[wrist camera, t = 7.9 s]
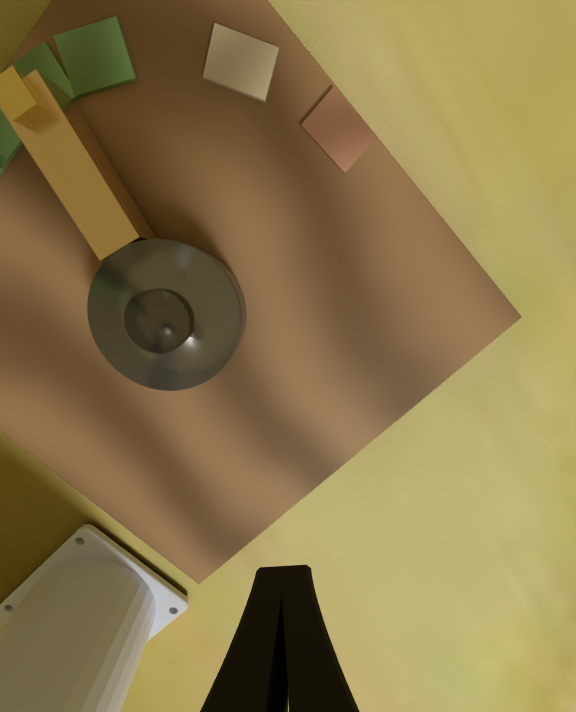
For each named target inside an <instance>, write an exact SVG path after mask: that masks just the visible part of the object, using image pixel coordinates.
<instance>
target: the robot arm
mask: <svg viewBox="0 0 576 712" xmlns="http://www.w3.org/2000/svg"><path fill="white" fill-rule="evenodd" d="M81 538H83V539H81ZM188 603H189V600H188V598H187V597H186V596H185V595H184V594H183V593H181V592H180V591H179V590H177V589H176V588H175V587H173V586H172V585H171V584H170V583H168V582H167V581H166V580H164V579H163V578H162V577H160V576H159V575H158V574H156V573H155V572H154V571H152V570H151V569H150V568H148V567H147V566H146V565H144V564H143V563H142V562H140V561H139V560H138V559H137V558H135V557H134V556H133V555H131V554H130V553H129V552H127V551H126V550H125V549H123V548H122V547H121V546H119V545H118V544H117V543H115V542H114V541H113V540H111V539H110V538H109V537H108V536H106V535H105V534H104V533H102V532H101V531H100V530H98V529H97V528H96V527H94V526H93V525H90V524H84V525H83V526H81V527H80V528H79V529H78V530H77V531H76V532H75V533H74V534H73V535H72V536H71V537H70V538H69V539H68V540H67V541H66V542H64V543H63V544H62V545H61V546H60V547H59V548H58V549H57V550H56V551H55V552H54V553H53V554H52V555H51V556H50V557H49V558H48V559H47V560H46V561H45V562H44V563H43V564H42V565H41V566H39V567H38V568H37V569H36V570H35V571H34V572H33V573H32V574H31V575H30V576H29V577H28V578H27V579H26V580H25V581H24V582H23V583H22V584H21V585H20V586H19V587H18V588H17V589H16V590H15V591H13V592H12V593H11V594H10V595H9V596H8V597H7V598H6V599H5V600H4V601H3V602H2V603H1V604H0V625H2V626H1V627H0V712H120V711H121V708H122V706H123V703H124V700H125V698H126V695H127V692H128V690H129V687H130V685H131V682H132V679H133V677H134V674H135V671H136V669H137V666H138V664H139V661H140V658H141V656H142V653H143V651H144V648H145V645H146V643H147V641H148V640H149V639H151V638H152V637H153V636H154V635H156V634H157V633H158V632H159V631H160V630H162V629H163V628H164V627H165V626H167V625H168V624H169V623H170V622H171V621H173V620H174V619H175V618H176V617H178V616H179V615H180V614H181V613H182V612H184V611H185V610H186V609H187V606H188ZM174 607H175V608H174ZM288 700H289V712H359V710H358V707H357V705H356V703H355V700H354V698H353V696H352V693H351V691H350V689H349V686H348V684H347V682H346V679H345V677H344V674H343V672H342V669H341V667H340V664H339V662H338V659H337V656H336V654H335V651H334V648H333V646H332V643H331V640H330V638H329V635H328V632H327V629H326V626H325V623H324V620H323V617H322V614H321V611H320V607H319V604H318V600H317V597H316V593H315V589H314V584H313V579H312V573H311V568H310V567H309V566H307V565H295V566H277V567H260V568H259V569H258V570H257V571H256V575H255V579H254V583H253V586H252V589H251V592H250V595H249V598H248V601H247V604H246V607H245V610H244V612H243V615H242V618H241V620H240V623H239V625H238V628H237V630H236V633H235V635H234V638H233V640H232V642H231V645H230V647H229V650H228V652H227V654H226V657H225V659H224V661H223V664H222V666H221V668H220V670H219V673H218V675H217V677H216V679H215V681H214V683H213V685H212V687H211V690H210V692H209V694H208V696H207V698H206V700H205V702H204V705H203V707H202V709H201V711H200V712H288Z"/></svg>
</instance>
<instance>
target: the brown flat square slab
mask: <svg viewBox="0 0 576 712" xmlns="http://www.w3.org/2000/svg"><path fill="white" fill-rule="evenodd" d="M12 65H13V66H14V67H15V68H17V69H18V70H19V71H21V72H22V73H24V74H25V75H26V76H27V75H28V74H30V73H31V72H33V71H34V70H35V69H37V70H38V71H39V72H41V73H42V74H43V75H44V76H46V77H47V78H48V79H49V80H51V81H52V82H53V83H55V84H56V85H57V86H58V87H60V88H61V89H62V90H63V91H65V92H66V93H67V94H68V95H70V96H71V98H72V100H73V101H74V103H75V105H76V106H77V108H78V110H79V111H80V113H81V115H82V116H83V118H84V120H85V121H86V123H87V125H88V126H89V128H90V130H91V131H92V133H93V135H94V136H95V138H96V140H97V141H98V143H99V144H100V146H101V148H102V149H103V151H104V153H105V154H106V156H107V158H108V159H109V161H110V163H111V164H112V166H113V168H114V169H115V171H116V173H117V174H118V176H119V178H120V179H121V181H122V183H123V184H124V186H125V188H126V189H127V191H128V192H129V194H130V196H131V197H132V199H133V201H134V202H135V204H136V206H137V207H138V209H139V211H140V212H141V214H142V216H143V217H144V219H145V221H146V222H147V224H148V226H149V227H150V229H151V231H152V232H153V234H154V236H155V237H156V239H166V240H172V241H176V242H181V243H185V244H189V245H193V246H196V247H199V248H202V249H204V250H206V251H208V252H210V253H211V254H213V255H214V256H216V257H217V258H218V259H220V260H221V261H222V262H223V263H224V264H225V265H226V266H227V267H228V268H229V269H230V271H231V272H232V273H233V275H234V276H235V278H236V279H237V281H238V283H239V285H240V287H241V289H242V292H243V295H244V299H245V304H246V325H245V330H244V334H243V337H242V339H241V341H240V343H239V345H238V347H237V349H236V350H235V352H234V353H233V355H232V356H231V358H230V359H229V361H228V362H227V364H226V365H225V366H224V367H223V369H222V370H221V371H220V372H219V373H218V374H216V375H215V376H214V377H213V378H211V379H210V380H208V381H206V382H205V383H203V384H201V385H198V386H196V387H193V388H189V389H185V390H179V391H164V390H156V389H152V388H148V387H145V386H142V385H140V384H137V383H135V382H133V381H131V380H130V379H128V378H126V377H125V376H123V375H122V374H121V373H119V372H118V371H117V370H116V369H115V368H114V367H113V366H112V365H111V364H110V363H109V362H108V361H107V360H106V359H105V357H104V356H103V355H102V353H101V352H100V350H99V348H98V347H97V345H96V343H95V341H94V338H93V336H92V333H91V330H90V327H89V321H88V314H87V302H88V294H89V290H90V286H91V283H92V281H93V278H94V276H95V275H96V273H97V271H98V269H99V268H100V267H101V265H102V264H103V263H104V261H100V260H99V259H98V257H97V256H96V254H95V252H94V251H93V249H92V248H91V246H90V245H89V243H88V242H87V240H86V239H85V237H84V236H83V234H82V233H81V231H80V230H79V228H78V226H77V225H76V223H75V222H74V220H73V219H72V217H71V216H70V214H69V213H68V211H67V210H66V208H65V207H64V205H63V203H62V202H61V200H60V199H59V197H58V196H57V194H56V193H55V191H54V190H53V188H52V187H51V185H50V184H49V182H48V181H47V179H46V177H45V176H44V174H43V173H42V171H41V170H40V168H39V167H38V165H37V164H36V162H35V161H34V159H33V158H32V156H31V155H30V153H29V151H28V150H27V148H26V147H25V145H24V144H23V142H22V141H21V139H20V138H19V136H18V135H17V133H16V132H15V130H14V128H13V127H12V125H11V124H10V122H9V121H8V119H7V118H6V116H5V115H4V113H3V112H2V110H1V109H0V431H1V432H3V433H4V434H5V435H6V436H8V437H9V438H10V439H12V440H13V441H14V442H15V443H17V444H18V445H19V446H21V447H22V448H23V449H25V450H26V451H27V452H28V453H30V454H31V455H32V456H34V457H35V458H36V459H37V460H39V461H40V462H41V463H43V464H44V465H45V466H47V467H48V468H49V469H50V470H52V471H53V472H54V473H56V474H57V475H58V476H59V477H61V478H62V479H63V480H65V481H66V482H67V483H68V484H70V485H71V486H72V487H74V488H75V489H76V490H78V491H79V492H80V493H81V494H83V495H84V496H85V497H87V498H88V499H89V500H90V501H92V502H93V503H94V504H96V505H97V506H98V507H100V508H101V509H102V510H103V511H105V512H106V513H107V514H109V515H110V516H111V517H112V518H114V519H115V520H116V521H118V522H119V523H120V524H122V525H123V526H124V527H125V528H127V529H128V530H129V531H131V532H132V533H133V534H134V535H136V536H137V537H138V538H140V539H141V540H142V541H144V542H145V543H146V544H147V545H149V546H150V547H151V548H153V549H154V550H155V551H156V552H158V553H159V554H160V555H162V556H163V557H164V558H166V559H167V560H168V561H169V562H171V563H172V564H173V565H175V566H176V567H177V568H178V569H180V570H181V571H182V572H184V573H185V574H186V575H188V576H189V577H190V578H191V579H193V580H194V581H195V582H197V583H198V584H200V583H201V582H202V581H204V580H205V579H206V578H207V577H208V576H210V575H211V574H212V573H213V572H214V571H216V570H217V569H218V568H219V567H220V566H222V565H223V564H224V563H225V562H227V561H228V560H229V559H230V558H231V557H233V556H234V555H235V554H236V553H237V552H239V551H240V550H241V549H242V548H243V547H245V546H246V545H247V544H248V543H249V542H251V541H252V540H253V539H254V538H256V537H257V536H258V535H259V534H260V533H262V532H263V531H264V530H265V529H266V528H268V527H269V526H270V525H271V524H272V523H274V522H275V521H276V520H277V519H278V518H280V517H281V516H282V515H283V514H285V513H286V512H287V511H288V510H289V509H291V508H292V507H293V506H294V505H295V504H297V503H298V502H299V501H300V500H301V499H303V498H304V497H305V496H306V495H307V494H309V493H310V492H311V491H312V490H314V489H315V488H316V487H317V486H318V485H320V484H321V483H322V482H323V481H324V480H326V479H327V478H328V477H329V476H330V475H332V474H333V473H334V472H335V471H336V470H338V469H339V468H340V467H341V466H343V465H344V464H345V463H346V462H347V461H349V460H350V459H351V458H352V457H353V456H355V455H356V454H357V453H358V452H359V451H361V450H362V449H363V448H364V447H365V446H367V445H368V444H369V443H370V442H372V441H373V440H374V439H375V438H376V437H378V436H379V435H380V434H381V433H382V432H384V431H385V430H386V429H387V428H388V427H390V426H391V425H392V424H393V423H394V422H396V421H397V420H398V419H399V418H401V417H402V416H403V415H404V414H405V413H407V412H408V411H409V410H410V409H411V408H413V407H414V406H415V405H416V404H417V403H419V402H420V401H421V400H422V399H423V398H425V397H426V396H427V395H428V394H430V393H431V392H432V391H433V390H434V389H436V388H437V387H438V386H439V385H440V384H442V383H443V382H444V381H445V380H446V379H448V378H449V377H450V376H451V375H453V374H454V373H455V372H456V371H457V370H459V369H460V368H461V367H462V366H463V365H465V364H466V363H467V362H468V361H469V360H471V359H472V358H473V357H474V356H475V355H477V354H478V353H479V352H480V351H482V350H483V349H484V348H485V347H486V346H488V345H489V344H490V343H491V342H492V341H494V340H495V339H496V338H497V337H498V336H500V335H501V334H502V333H503V332H504V331H506V330H507V329H508V328H509V327H511V326H512V325H513V324H514V323H515V322H517V321H518V320H519V319H520V318H521V315H520V314H519V313H518V312H517V310H516V309H515V308H514V307H513V305H512V304H511V303H510V302H509V300H508V299H507V298H506V297H505V295H504V294H503V293H502V292H501V290H500V289H499V288H498V287H497V286H496V284H495V283H494V282H493V281H492V279H491V278H490V277H489V276H488V274H487V273H486V272H485V271H484V269H483V268H482V267H481V266H480V264H479V263H478V262H477V261H476V259H475V258H474V257H473V256H472V254H471V253H470V252H469V251H468V249H467V248H466V247H465V246H464V244H463V243H462V242H461V241H460V239H459V238H458V237H457V236H456V234H455V233H454V232H453V231H452V229H451V228H450V227H449V226H448V225H447V223H446V222H445V221H444V220H443V218H442V217H441V216H440V215H439V213H438V212H437V211H436V210H435V208H434V207H433V206H432V205H431V203H430V202H429V201H428V200H427V198H426V197H425V196H424V195H423V193H422V192H421V191H420V190H419V188H418V187H417V186H416V185H415V183H414V182H413V181H412V180H411V178H410V177H409V176H408V175H407V173H406V172H405V171H404V170H403V168H402V167H401V166H400V165H399V164H398V162H397V161H396V160H395V159H394V157H393V156H392V155H391V154H390V152H389V151H388V150H387V149H386V147H385V146H384V145H383V144H382V142H381V141H380V140H379V139H378V137H377V136H376V135H375V133H374V132H373V131H372V130H371V129H370V127H369V126H368V125H367V124H366V122H365V121H364V120H363V119H362V117H361V116H360V115H359V114H358V112H357V111H356V110H355V109H354V107H353V106H352V105H351V104H350V103H349V101H348V100H347V99H346V98H345V96H344V95H343V94H342V93H341V91H340V90H339V89H338V88H337V86H336V85H335V84H334V83H333V81H332V80H331V79H330V78H329V76H328V75H327V74H326V73H325V71H324V70H323V69H322V68H321V66H320V65H319V64H318V63H317V61H316V60H315V59H314V58H313V56H312V55H311V54H310V53H309V51H308V50H307V49H306V48H305V46H304V45H303V44H302V43H301V42H300V40H299V39H298V38H297V37H296V35H295V34H294V33H293V32H292V30H291V29H290V28H289V27H288V25H287V24H286V23H285V22H284V20H283V19H282V18H281V17H280V15H279V14H278V13H277V12H276V10H275V9H274V8H273V7H272V5H271V4H270V3H269V2H268V0H52V1H51V3H50V4H49V6H48V7H47V9H46V10H45V11H44V13H43V14H42V16H41V17H40V19H39V20H38V22H37V23H36V24H35V26H34V27H33V29H32V30H31V32H30V33H29V35H28V36H27V38H26V39H25V40H24V42H23V43H22V45H21V46H20V48H19V49H18V51H17V52H16V53H15V55H14V56H13V58H12V59H11V61H10V62H9V64H8V65H7V67H6V68H5V69H4V71H5V70H7V69H8V68H9V67H11V66H12ZM4 71H3V72H4ZM3 72H2V73H3Z"/></svg>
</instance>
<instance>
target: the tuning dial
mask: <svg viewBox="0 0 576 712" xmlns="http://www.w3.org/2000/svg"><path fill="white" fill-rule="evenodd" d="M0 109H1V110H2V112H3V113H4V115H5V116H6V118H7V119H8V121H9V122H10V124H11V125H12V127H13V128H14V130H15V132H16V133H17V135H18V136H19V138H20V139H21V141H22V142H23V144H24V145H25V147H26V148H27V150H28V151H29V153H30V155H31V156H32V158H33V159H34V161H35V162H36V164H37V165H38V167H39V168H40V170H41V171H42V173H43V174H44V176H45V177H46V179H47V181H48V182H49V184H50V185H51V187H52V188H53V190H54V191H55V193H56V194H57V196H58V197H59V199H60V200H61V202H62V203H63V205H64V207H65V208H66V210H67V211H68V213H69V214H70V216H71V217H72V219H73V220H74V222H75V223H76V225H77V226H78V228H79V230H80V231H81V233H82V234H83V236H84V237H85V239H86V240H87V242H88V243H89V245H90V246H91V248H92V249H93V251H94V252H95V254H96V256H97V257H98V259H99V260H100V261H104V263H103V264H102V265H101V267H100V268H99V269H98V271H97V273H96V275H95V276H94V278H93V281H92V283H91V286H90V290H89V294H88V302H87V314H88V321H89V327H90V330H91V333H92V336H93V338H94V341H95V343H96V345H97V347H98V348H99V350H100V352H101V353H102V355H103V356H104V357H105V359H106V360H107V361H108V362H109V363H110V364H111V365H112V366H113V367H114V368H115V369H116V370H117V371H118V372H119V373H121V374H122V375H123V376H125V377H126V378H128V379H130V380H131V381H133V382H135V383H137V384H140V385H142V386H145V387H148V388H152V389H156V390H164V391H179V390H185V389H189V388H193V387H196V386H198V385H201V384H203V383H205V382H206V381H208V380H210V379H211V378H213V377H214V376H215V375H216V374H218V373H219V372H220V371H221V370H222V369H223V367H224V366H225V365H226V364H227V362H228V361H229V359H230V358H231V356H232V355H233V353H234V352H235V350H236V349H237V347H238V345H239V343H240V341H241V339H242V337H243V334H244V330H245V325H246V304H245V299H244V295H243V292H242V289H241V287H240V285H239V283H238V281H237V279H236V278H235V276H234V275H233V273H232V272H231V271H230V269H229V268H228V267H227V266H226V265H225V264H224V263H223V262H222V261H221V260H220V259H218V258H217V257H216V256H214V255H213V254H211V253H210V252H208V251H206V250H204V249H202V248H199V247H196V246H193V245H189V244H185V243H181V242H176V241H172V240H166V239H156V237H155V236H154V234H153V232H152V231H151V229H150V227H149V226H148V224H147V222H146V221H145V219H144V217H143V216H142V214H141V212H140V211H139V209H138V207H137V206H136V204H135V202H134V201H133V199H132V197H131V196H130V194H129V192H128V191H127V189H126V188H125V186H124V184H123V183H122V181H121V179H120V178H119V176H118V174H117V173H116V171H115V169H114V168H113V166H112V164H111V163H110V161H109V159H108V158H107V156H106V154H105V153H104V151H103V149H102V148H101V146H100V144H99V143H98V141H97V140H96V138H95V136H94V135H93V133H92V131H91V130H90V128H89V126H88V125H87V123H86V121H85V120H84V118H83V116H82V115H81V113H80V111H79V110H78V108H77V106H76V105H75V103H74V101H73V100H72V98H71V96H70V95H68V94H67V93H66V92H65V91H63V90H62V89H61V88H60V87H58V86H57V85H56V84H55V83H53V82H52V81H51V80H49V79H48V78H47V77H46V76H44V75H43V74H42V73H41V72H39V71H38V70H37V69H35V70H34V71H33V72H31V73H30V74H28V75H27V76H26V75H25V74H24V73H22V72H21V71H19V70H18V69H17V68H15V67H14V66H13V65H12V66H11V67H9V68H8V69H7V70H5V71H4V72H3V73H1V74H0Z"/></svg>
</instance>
